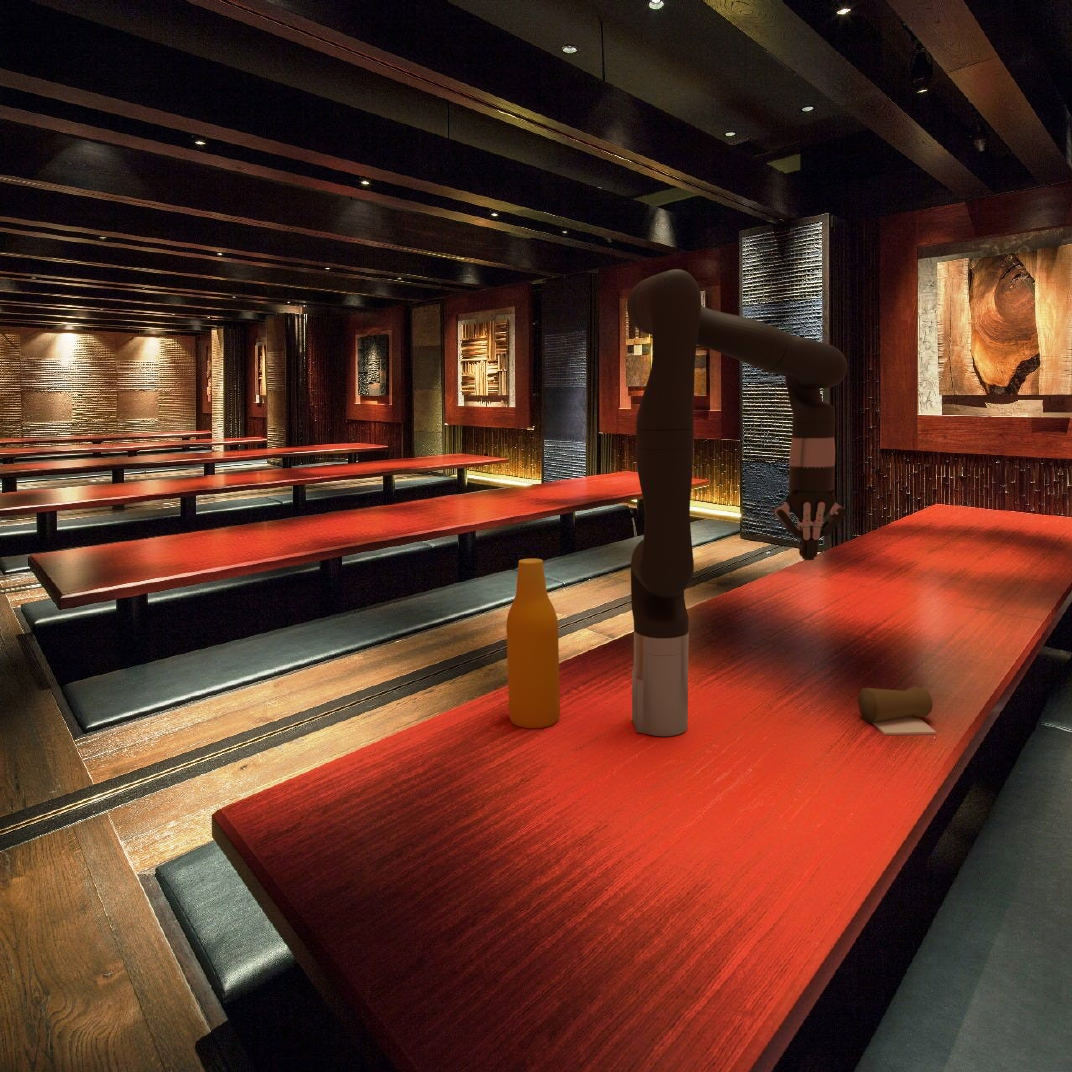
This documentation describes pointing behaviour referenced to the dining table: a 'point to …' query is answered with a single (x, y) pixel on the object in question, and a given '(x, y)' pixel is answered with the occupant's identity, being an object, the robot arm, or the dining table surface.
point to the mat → (904, 726)
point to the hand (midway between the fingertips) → (808, 559)
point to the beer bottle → (532, 651)
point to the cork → (893, 703)
